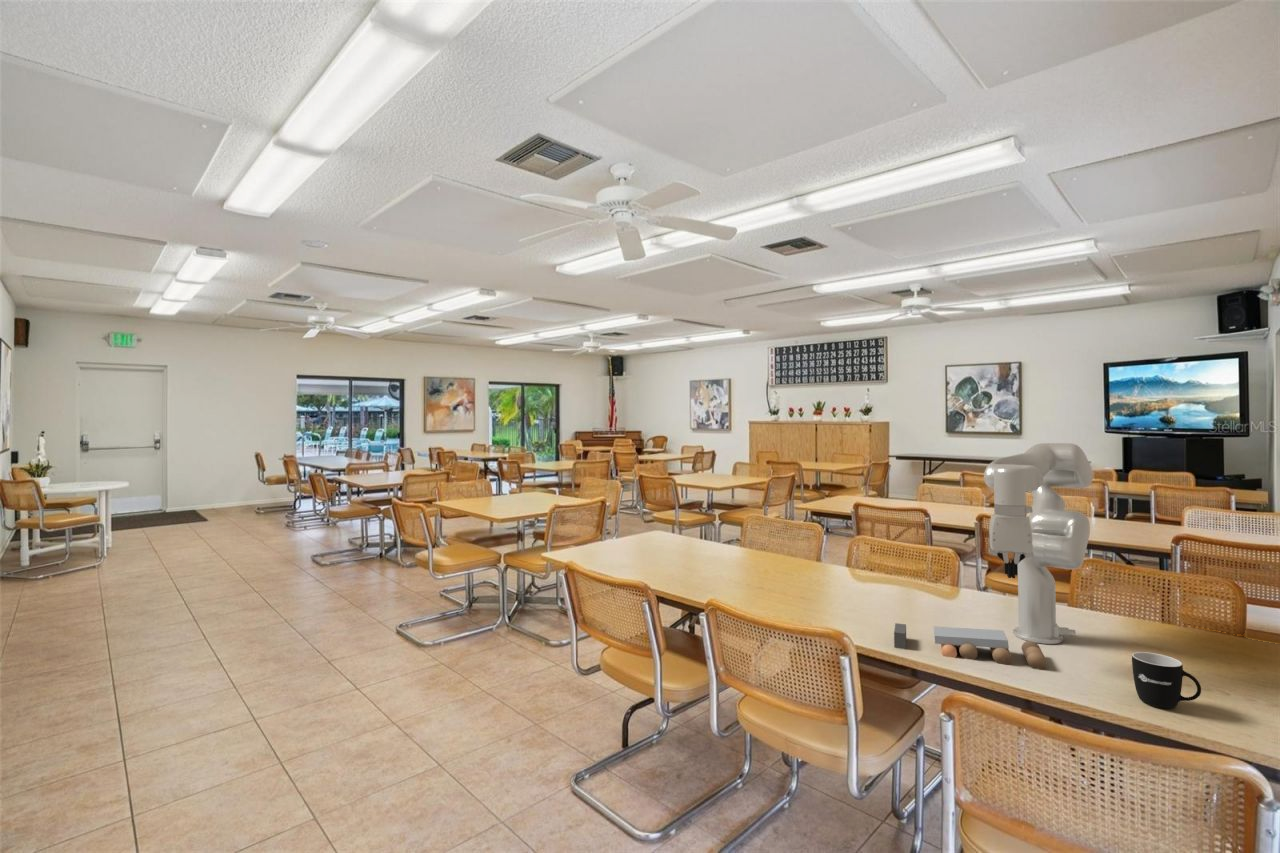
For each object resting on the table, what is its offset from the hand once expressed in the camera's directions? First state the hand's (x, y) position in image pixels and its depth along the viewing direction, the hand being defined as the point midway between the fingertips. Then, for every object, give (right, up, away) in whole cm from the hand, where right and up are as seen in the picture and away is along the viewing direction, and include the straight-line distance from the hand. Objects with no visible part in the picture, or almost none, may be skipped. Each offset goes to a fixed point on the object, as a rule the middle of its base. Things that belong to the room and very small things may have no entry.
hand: (1011, 576), depth 165 cm
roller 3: (+5, -21, -2) cm, 21 cm away
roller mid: (-3, -21, +1) cm, 21 cm away
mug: (+19, -23, -27) cm, 40 cm away
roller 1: (-16, -23, +7) cm, 28 cm away
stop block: (-26, -23, +12) cm, 37 cm away
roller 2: (-10, -21, +5) cm, 24 cm away
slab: (-9, -19, +4) cm, 22 cm away
